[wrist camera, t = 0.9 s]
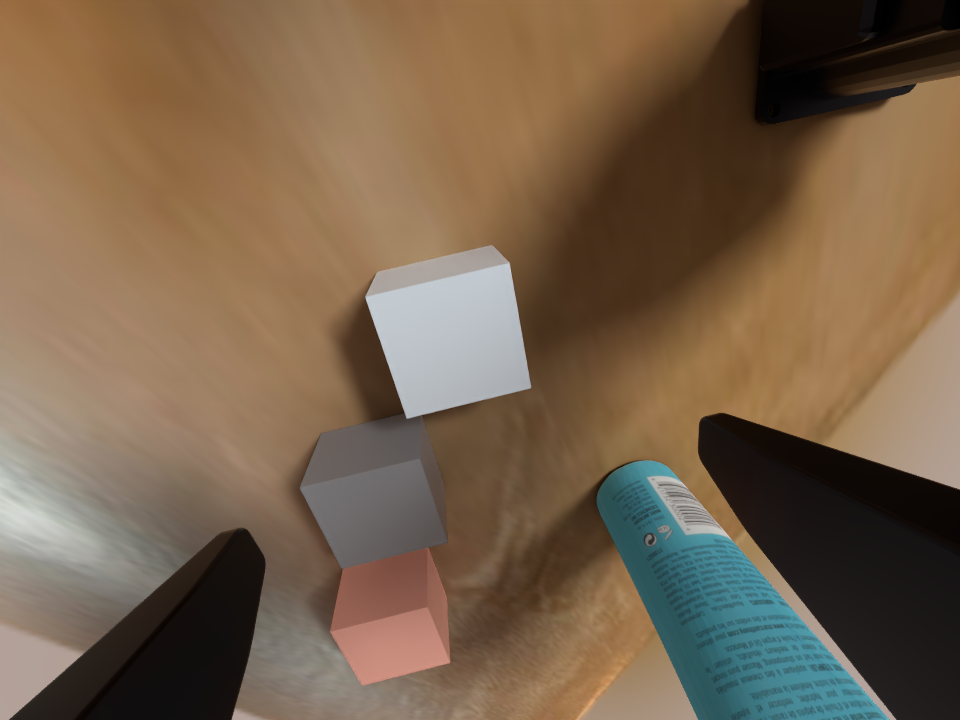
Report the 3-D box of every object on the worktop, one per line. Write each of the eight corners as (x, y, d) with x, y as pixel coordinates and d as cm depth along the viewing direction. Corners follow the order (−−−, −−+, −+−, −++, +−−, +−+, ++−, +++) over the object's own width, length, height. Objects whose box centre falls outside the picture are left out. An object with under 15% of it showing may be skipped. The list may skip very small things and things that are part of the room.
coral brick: (427, 542, 24) (427, 607, 20) (446, 595, 26) (450, 662, 23) (344, 562, 24) (329, 631, 20) (370, 614, 26) (362, 685, 22)
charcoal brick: (420, 407, 20) (419, 458, 17) (444, 483, 22) (447, 542, 19) (322, 431, 20) (299, 487, 17) (355, 505, 22) (341, 569, 19)
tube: (577, 532, 25) (920, 1331, 8) (573, 471, 23) (1030, 1376, 6) (692, 508, 25) (1263, 1217, 8) (698, 446, 23) (1484, 1220, 6)
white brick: (491, 244, 17) (509, 262, 14) (511, 348, 20) (531, 388, 16) (377, 271, 17) (365, 296, 14) (409, 373, 19) (406, 418, 16)
